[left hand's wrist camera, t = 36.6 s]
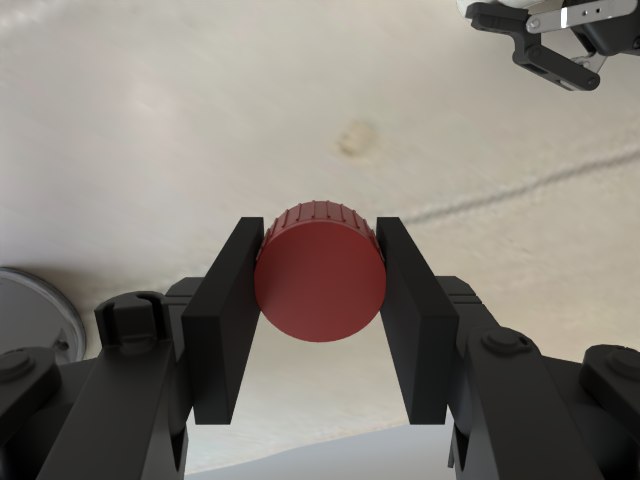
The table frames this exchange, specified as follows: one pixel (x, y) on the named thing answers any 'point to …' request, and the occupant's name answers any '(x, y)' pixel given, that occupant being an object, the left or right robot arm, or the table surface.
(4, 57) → the table surface
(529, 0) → the bottle
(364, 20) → the table surface
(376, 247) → the cap
